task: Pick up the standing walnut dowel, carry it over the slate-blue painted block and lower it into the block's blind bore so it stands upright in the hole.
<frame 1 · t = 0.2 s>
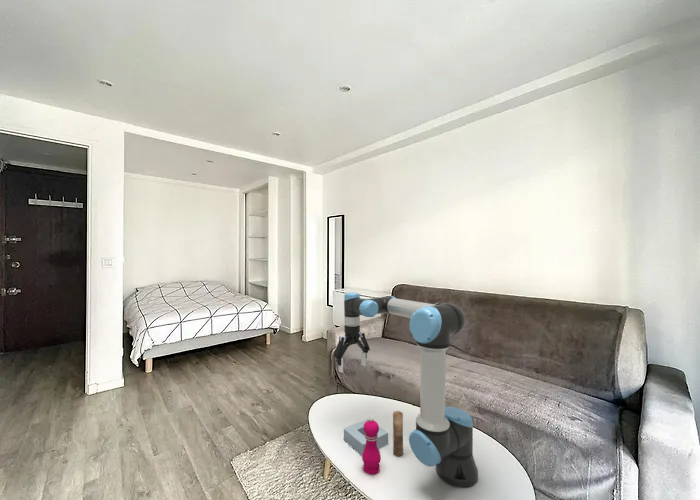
hand: (352, 368, 148), 28 cm above the table, fingers open, 13 cm apart
dowel: (398, 453, 127), on the table
bore block: (365, 442, 135), on the table
pepper mill: (371, 469, 118), on the table
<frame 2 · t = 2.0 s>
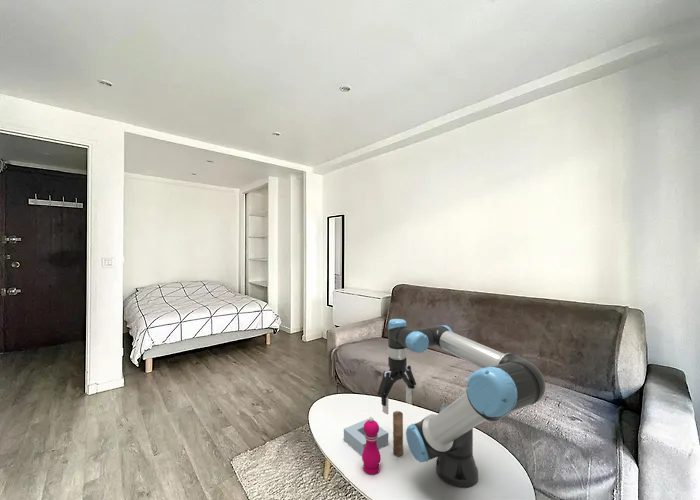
hand: (397, 407, 127), 19 cm above the table, fingers open, 13 cm apart
nothing on the table moved.
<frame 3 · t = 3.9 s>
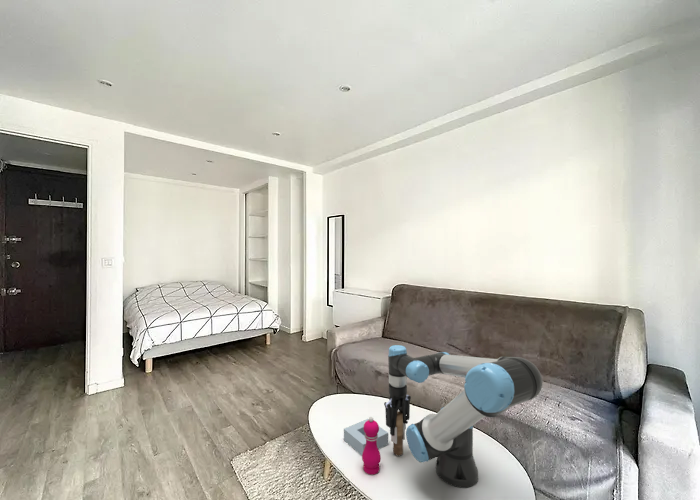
hand: (398, 440, 127), 6 cm above the table, fingers closed on dowel, 4 cm apart
dowel: (398, 453, 127), on the table, touching gripper
everything else where it was.
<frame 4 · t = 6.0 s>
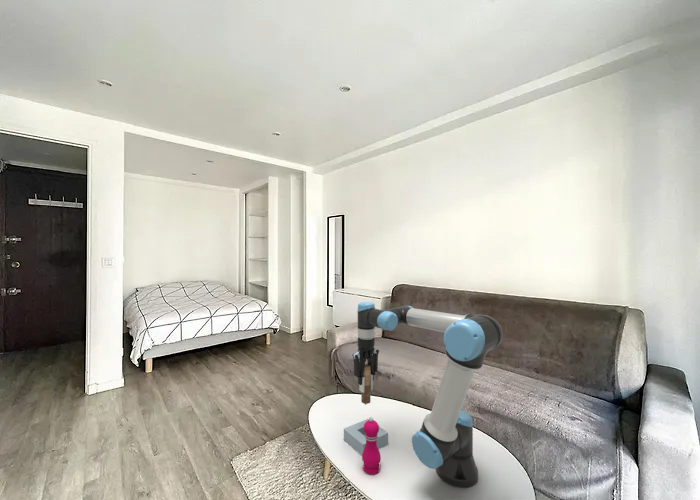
hand: (366, 390, 135), 23 cm above the table, fingers closed on dowel, 4 cm apart
dowel: (365, 402, 135), point 17 cm above the table, touching gripper
everything else where it was.
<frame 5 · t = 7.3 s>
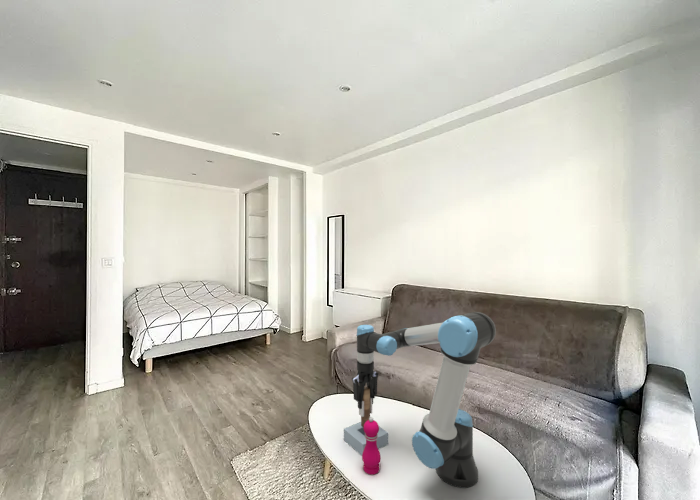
hand: (365, 413, 135), 13 cm above the table, fingers closed on dowel, 4 cm apart
dowel: (365, 426, 135), point 7 cm above the table, touching gripper
everything else where it was.
when the fingers open (9 cm above the table, at t = 8.3 s): dowel drops 2 cm, resting on bore block.
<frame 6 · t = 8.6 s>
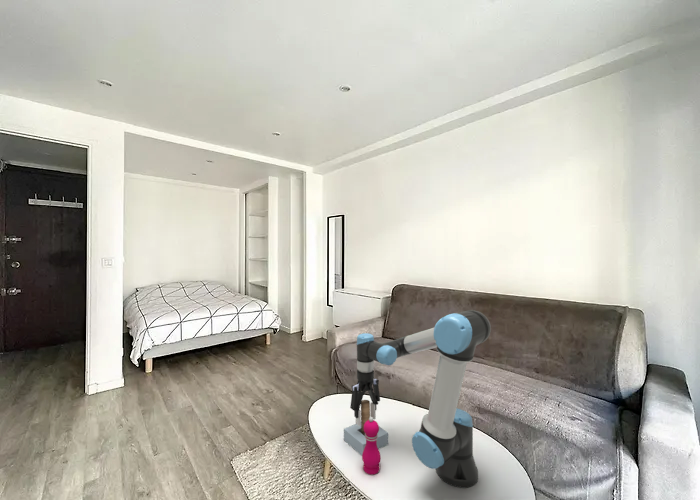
hand: (365, 421, 135), 9 cm above the table, fingers open, 8 cm apart
dowel: (365, 439, 135), point 1 cm above the table, touching bore block
everything else where it was.
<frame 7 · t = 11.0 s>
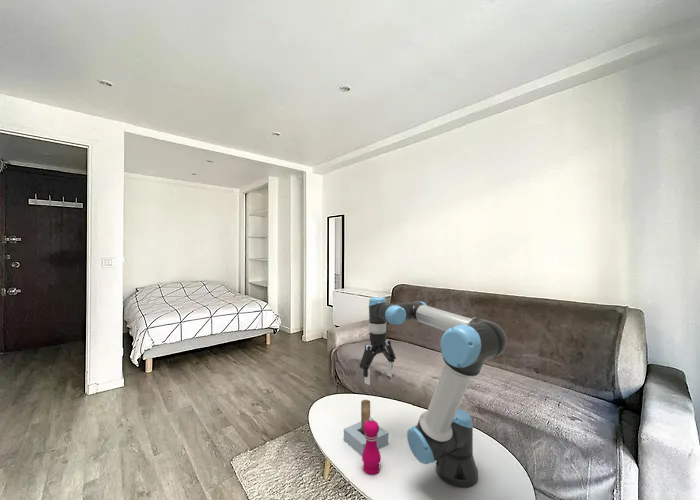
hand: (378, 379, 137), 27 cm above the table, fingers open, 13 cm apart
nothing on the table moved.
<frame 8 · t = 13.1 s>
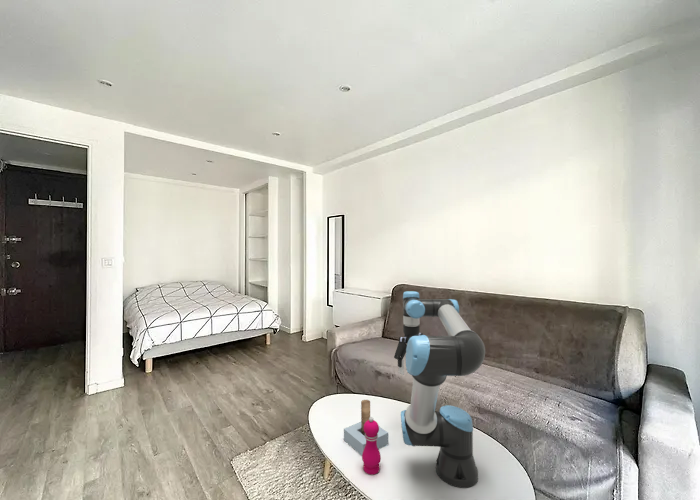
hand: (411, 370, 142), 29 cm above the table, fingers open, 13 cm apart
nothing on the table moved.
at the end: dowel 0.1 cm off-centre on the bore block, point 1.1 cm above the bore block's base; dowel tilted 0°; the gripper is holding nothing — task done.
